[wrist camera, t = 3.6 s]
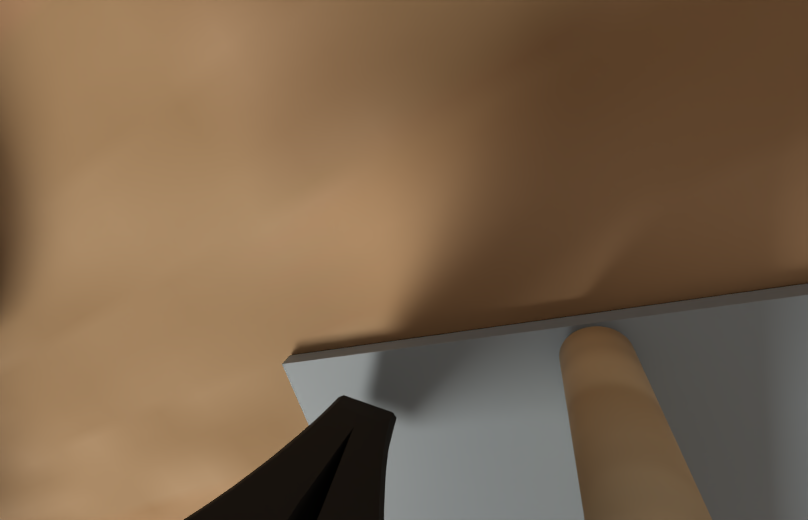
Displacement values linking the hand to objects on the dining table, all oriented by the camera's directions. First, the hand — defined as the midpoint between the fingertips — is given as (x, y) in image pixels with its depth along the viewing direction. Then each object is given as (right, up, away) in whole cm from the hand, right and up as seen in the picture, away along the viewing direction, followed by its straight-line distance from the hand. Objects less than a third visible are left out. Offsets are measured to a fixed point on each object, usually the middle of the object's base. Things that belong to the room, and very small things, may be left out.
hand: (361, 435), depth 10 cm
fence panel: (+6, -1, 0) cm, 6 cm away
